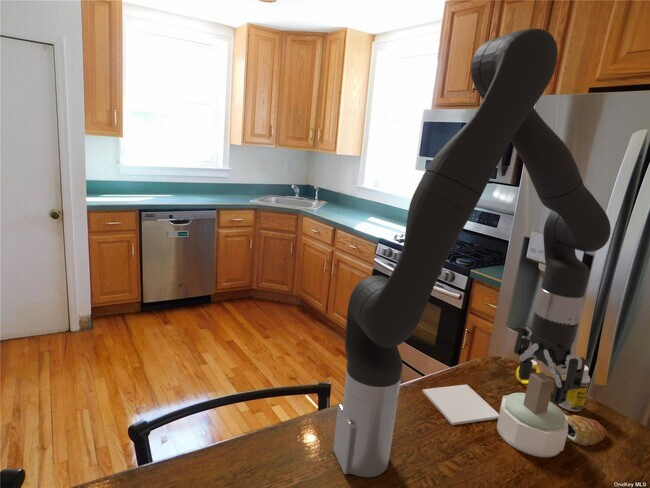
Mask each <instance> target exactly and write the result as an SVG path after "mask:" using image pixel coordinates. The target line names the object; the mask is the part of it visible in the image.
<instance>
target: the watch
mask: <svg viewBox="0 0 650 488" xmlns="http://www.w3.org/2000/svg"><path fill="white" fill-rule="evenodd" d="M531 361H532V362H533V365H532V368H536V370H535V371H536V372H535V373H542V370H541V366H539V365H538V362H537V361H536V360H535V359H534V360H531ZM519 367H520V365H519V366H518V367H517V368H516V370H515V371H516V372H515V377H516V380H517V381H518V382H520V384H522V385H528V382H529V379H521V378H520V377H519Z"/></svg>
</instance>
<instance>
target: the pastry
mask: <svg viewBox="0 0 650 488" xmlns="http://www.w3.org/2000/svg"><path fill="white" fill-rule="evenodd" d="M566 416H567V418H568V433H567V437H566V438H568V439H569V440H570V441H572V443H575V444H576V445H580V446H586V447H587V446H589V445H590V446H593V445H596V444H598V443H600V442H601V441H603V440H604V439H605V437H606V435H607V430H606V428H605V427H604V426H603V425H601V423H600V422H598V421H597V420H595V419H592V418H591V419H590V418H588V417H584V416H582V415H577V414H573V415H566Z"/></svg>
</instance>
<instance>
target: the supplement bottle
mask: <svg viewBox="0 0 650 488" xmlns="http://www.w3.org/2000/svg"><path fill="white" fill-rule="evenodd" d="M589 371H590V370H589V367H588V366H587V365H586V364H585V368H584V373H583V378H582V384H581V388H580V389H573V390H568V393H567V397H566V401H565V402H564V403H562V404H557V405H558V406H560V407H561V408H562V409H565V410H567V411H570V412H574V413H575V412H580V411H582V410H583V408H584V405H585V400H586V397H587V393H588V391H589V387H590V386H589V385H590V382H591V377H590V375H589ZM561 377H562V380H564V379H563V376H562V374H561Z"/></svg>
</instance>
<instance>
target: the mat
mask: <svg viewBox="0 0 650 488" xmlns="http://www.w3.org/2000/svg"><path fill="white" fill-rule="evenodd" d="M422 393H423V394H424V395H425V396H426V398H427V399H428V400H429V401H430V402H431V404H433V406H434V407H435V408H436V409H437V410H438V411H439V412H440V413H441V414H442V415H443V416H444V417H445V419H446V420H447V422H449V423H450V424H451V426H455V425H463V424H470V423H477V422H483V421H491V420H498V418H499V413H498V412H497V411H496V410H495V409H494V408H493V407H492V406H491V405H490V404H489V403H488V402H486V401H485V400H484V399H483V398H482V397H481V396H480V395H479V394H478V393H477V392H475V391H474V390H473V389H472V388H471V386H469V385H468V384H460V385H459V384H457V385H451V386H443V387H442V386H441V387H432V388H425V389H422Z"/></svg>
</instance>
